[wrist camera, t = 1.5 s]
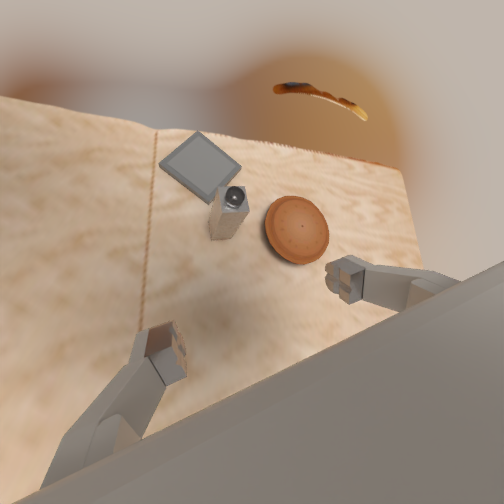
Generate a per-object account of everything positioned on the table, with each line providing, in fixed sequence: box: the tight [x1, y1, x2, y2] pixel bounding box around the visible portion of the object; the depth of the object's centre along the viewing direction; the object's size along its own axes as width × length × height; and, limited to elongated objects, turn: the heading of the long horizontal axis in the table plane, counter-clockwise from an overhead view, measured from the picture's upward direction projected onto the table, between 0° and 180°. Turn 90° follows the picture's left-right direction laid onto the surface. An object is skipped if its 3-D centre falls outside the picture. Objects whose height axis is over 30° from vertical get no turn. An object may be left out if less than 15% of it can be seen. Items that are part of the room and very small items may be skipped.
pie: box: [265, 196, 329, 265], centre depth 42 cm, size 15×16×5 cm
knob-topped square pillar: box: [208, 186, 250, 241], centre depth 33 cm, size 4×4×14 cm
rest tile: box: [159, 131, 242, 205], centre depth 41 cm, size 12×12×1 cm
